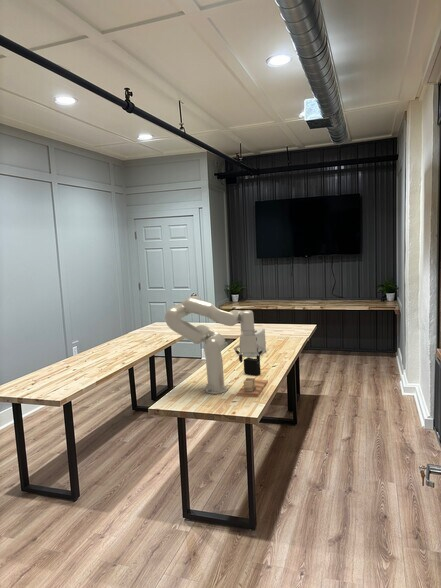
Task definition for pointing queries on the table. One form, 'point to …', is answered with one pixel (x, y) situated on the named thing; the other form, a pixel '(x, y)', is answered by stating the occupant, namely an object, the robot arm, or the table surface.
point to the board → (258, 389)
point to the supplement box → (261, 342)
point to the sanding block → (249, 385)
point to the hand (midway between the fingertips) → (249, 362)
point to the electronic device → (251, 367)
